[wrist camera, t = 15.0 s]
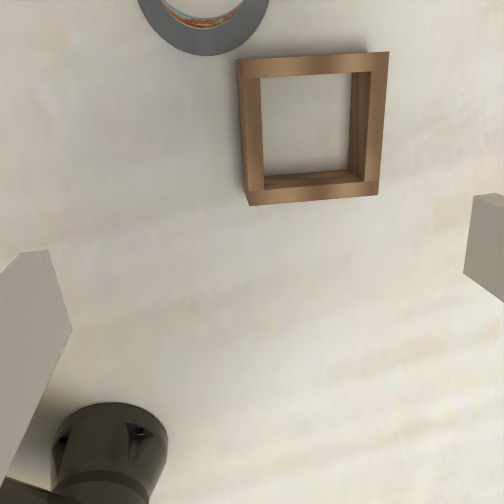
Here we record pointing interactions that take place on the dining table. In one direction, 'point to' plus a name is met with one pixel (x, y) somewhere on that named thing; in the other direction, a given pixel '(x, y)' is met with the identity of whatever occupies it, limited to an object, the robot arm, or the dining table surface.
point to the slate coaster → (207, 39)
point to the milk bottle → (202, 12)
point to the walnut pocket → (360, 136)
